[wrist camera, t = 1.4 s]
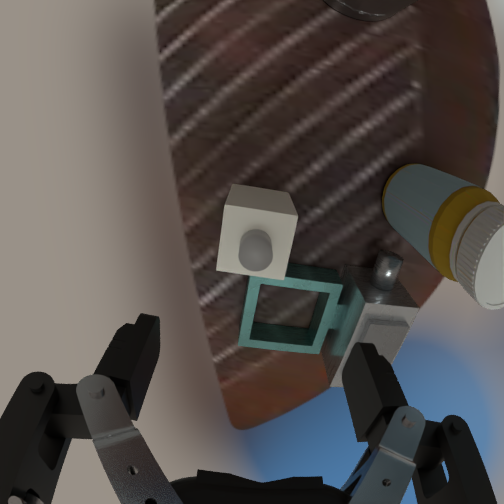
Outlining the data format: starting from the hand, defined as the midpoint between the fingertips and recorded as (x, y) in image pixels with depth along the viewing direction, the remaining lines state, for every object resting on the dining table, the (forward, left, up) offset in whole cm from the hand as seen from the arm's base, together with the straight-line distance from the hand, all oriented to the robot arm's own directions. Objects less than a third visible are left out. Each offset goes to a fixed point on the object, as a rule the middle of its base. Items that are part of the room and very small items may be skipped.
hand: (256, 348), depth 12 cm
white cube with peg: (0, 0, -18) cm, 18 cm away
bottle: (-4, +14, -18) cm, 23 cm away
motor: (+7, +8, -18) cm, 20 cm away
